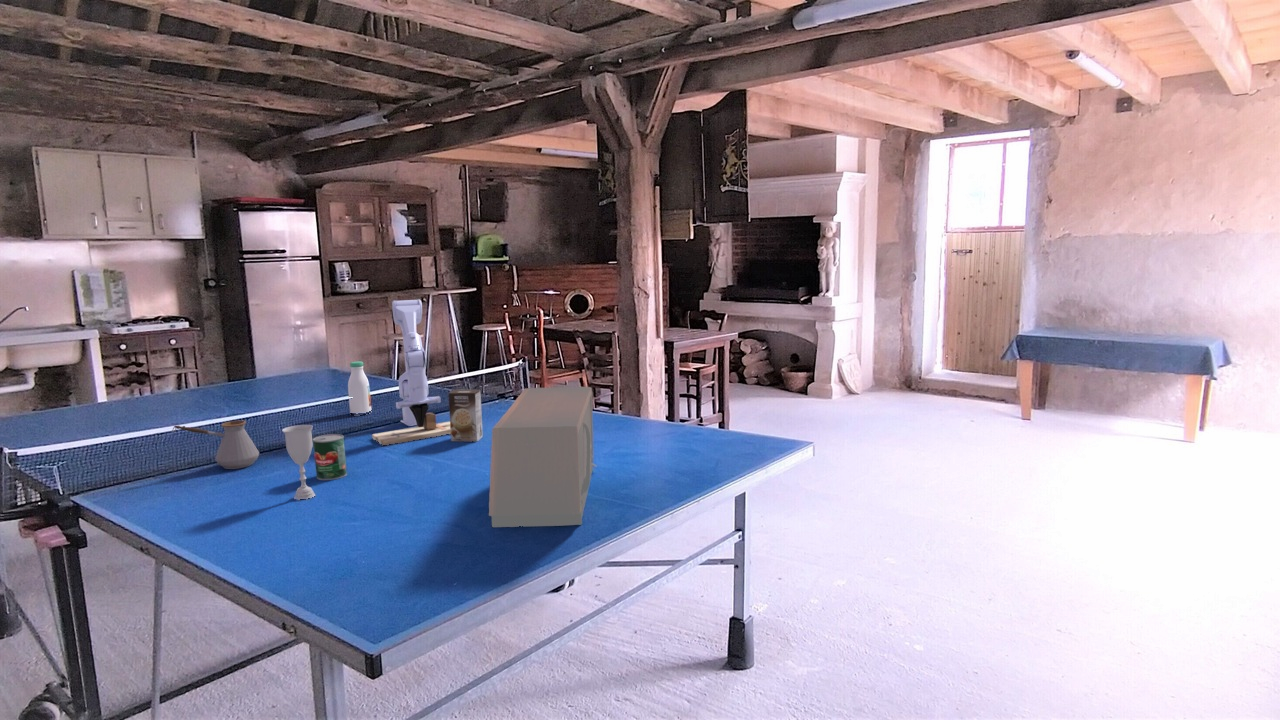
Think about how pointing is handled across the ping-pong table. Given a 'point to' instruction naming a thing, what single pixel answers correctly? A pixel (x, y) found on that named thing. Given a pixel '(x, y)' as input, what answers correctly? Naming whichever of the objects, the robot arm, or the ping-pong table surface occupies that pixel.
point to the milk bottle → (358, 389)
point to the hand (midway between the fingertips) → (420, 426)
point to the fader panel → (411, 434)
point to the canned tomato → (330, 457)
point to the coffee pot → (232, 445)
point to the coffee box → (465, 415)
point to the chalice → (300, 454)
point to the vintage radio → (542, 458)
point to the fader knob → (429, 421)
